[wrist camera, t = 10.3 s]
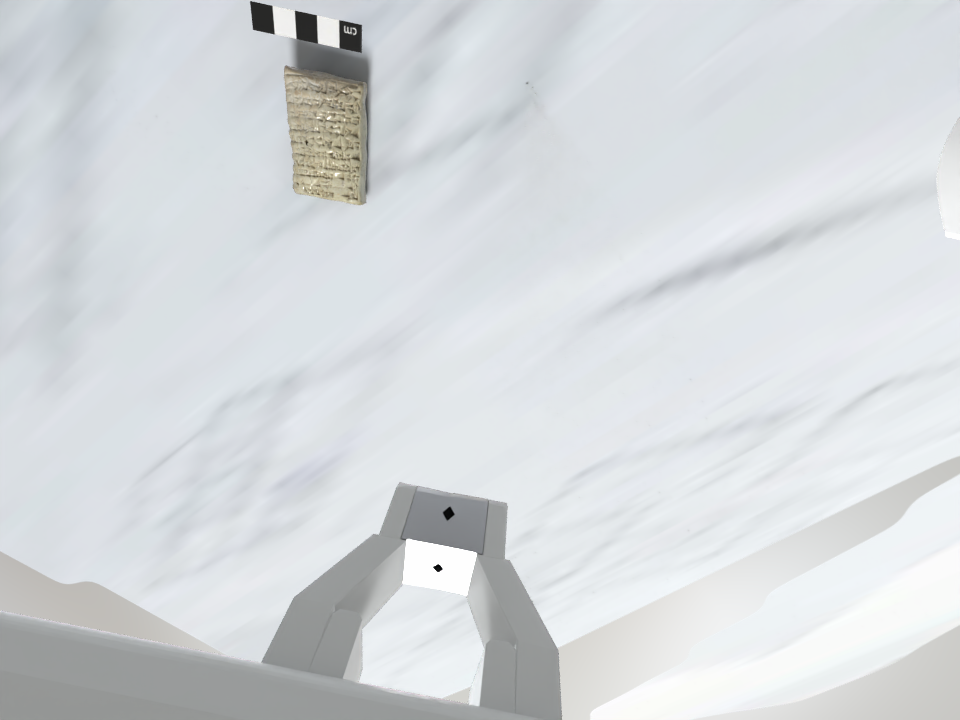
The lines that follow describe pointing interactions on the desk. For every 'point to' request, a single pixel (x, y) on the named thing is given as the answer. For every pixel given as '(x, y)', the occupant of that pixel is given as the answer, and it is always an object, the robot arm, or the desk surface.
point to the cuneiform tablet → (322, 108)
